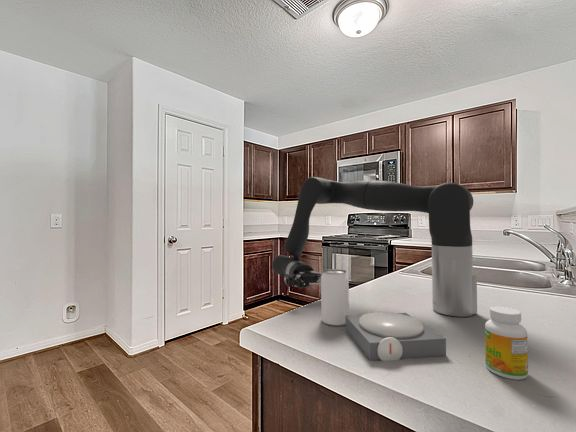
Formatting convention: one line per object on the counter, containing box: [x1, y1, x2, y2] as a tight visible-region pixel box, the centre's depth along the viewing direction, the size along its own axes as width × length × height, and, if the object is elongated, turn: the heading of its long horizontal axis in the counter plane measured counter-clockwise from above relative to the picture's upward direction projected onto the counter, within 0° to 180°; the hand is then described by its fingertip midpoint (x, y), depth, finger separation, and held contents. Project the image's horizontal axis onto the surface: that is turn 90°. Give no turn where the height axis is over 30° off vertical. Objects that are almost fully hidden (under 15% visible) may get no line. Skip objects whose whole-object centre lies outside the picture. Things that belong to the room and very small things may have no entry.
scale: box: [345, 311, 447, 362], centre depth 57 cm, size 14×15×4 cm
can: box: [320, 268, 350, 327], centre depth 68 cm, size 6×6×12 cm
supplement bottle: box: [484, 305, 529, 381], centre depth 46 cm, size 5×5×10 cm
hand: (317, 284), depth 79 cm, fingers open, 8 cm apart
